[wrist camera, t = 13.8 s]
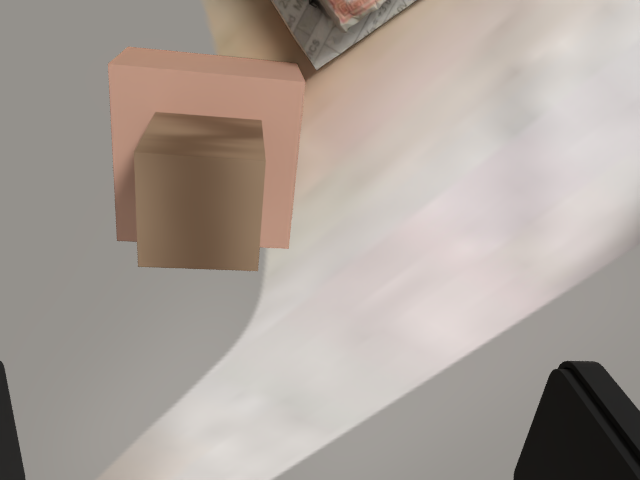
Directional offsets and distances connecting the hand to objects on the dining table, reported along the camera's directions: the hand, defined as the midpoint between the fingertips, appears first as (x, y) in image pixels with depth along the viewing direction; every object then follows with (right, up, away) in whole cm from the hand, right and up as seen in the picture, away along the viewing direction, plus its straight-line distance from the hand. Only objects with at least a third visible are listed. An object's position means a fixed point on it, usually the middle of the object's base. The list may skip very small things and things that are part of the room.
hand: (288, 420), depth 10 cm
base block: (-6, +9, +23) cm, 25 cm away
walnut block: (-5, +7, +18) cm, 20 cm away
